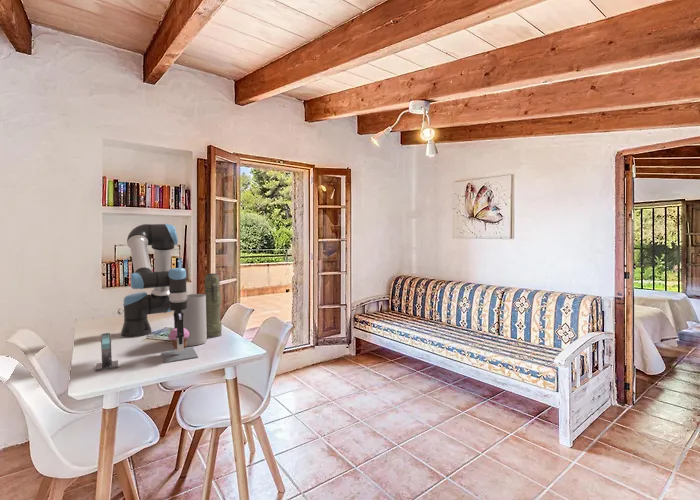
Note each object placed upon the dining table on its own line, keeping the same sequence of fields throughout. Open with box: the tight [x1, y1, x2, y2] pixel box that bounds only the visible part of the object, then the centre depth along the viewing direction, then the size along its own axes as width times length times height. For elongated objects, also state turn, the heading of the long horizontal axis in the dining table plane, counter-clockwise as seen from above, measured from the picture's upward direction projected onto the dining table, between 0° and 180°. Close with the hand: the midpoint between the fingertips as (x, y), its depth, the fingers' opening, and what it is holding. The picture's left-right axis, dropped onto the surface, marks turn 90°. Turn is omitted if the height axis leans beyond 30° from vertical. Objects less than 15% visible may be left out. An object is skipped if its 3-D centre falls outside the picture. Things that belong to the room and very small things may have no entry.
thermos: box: [204, 272, 223, 338], centre depth 211 cm, size 9×12×35 cm
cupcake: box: [168, 328, 189, 350], centre depth 178 cm, size 9×9×10 cm
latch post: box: [94, 337, 119, 372], centre depth 163 cm, size 8×8×12 cm
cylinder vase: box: [182, 293, 208, 347], centre depth 197 cm, size 12×12×25 cm
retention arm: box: [101, 332, 111, 349], centre depth 156 cm, size 3×19×2 cm, turn 33°
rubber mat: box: [161, 346, 199, 364], centre depth 178 cm, size 16×14×1 cm
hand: (179, 348), depth 178 cm, fingers closed on cupcake, 9 cm apart
